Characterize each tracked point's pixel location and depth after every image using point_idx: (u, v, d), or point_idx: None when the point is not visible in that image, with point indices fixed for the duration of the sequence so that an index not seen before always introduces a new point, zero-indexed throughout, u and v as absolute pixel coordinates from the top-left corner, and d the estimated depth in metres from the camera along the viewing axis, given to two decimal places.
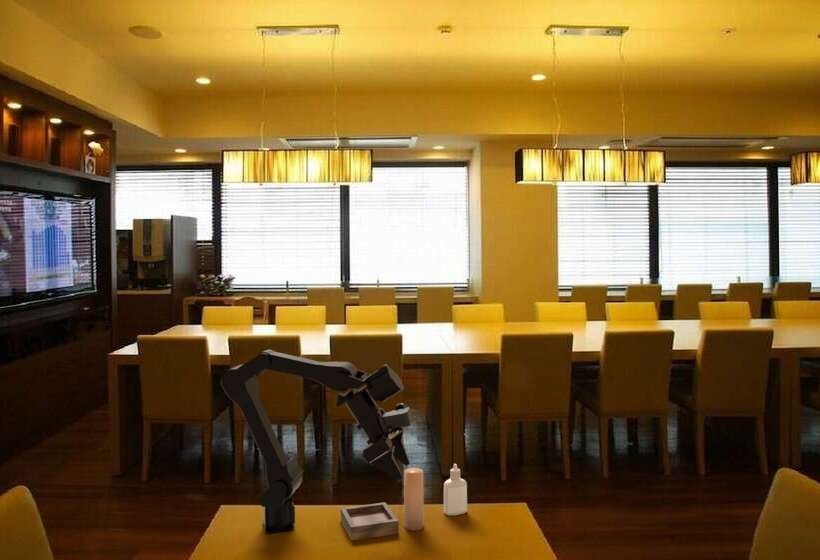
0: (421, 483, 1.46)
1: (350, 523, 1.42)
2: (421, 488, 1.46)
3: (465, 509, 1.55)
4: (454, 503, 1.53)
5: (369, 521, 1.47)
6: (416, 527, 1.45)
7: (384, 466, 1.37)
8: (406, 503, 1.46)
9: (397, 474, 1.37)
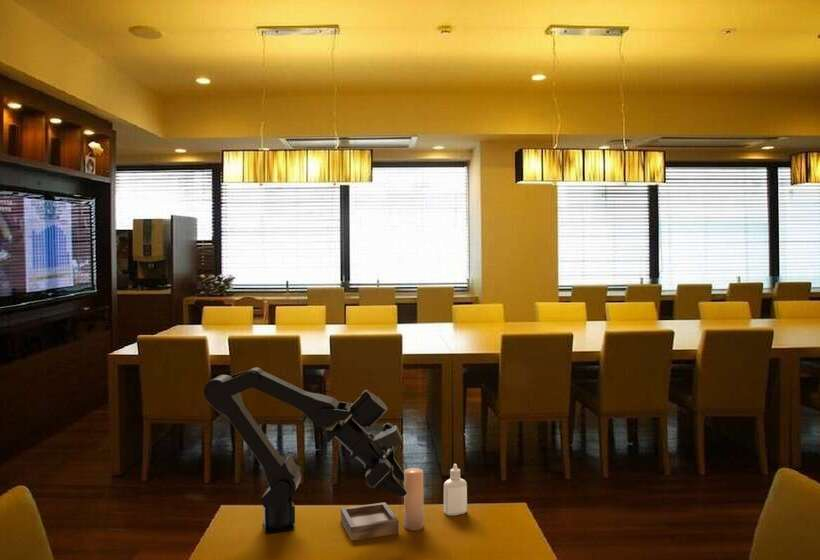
0: (421, 483, 1.46)
1: (350, 523, 1.42)
2: (421, 488, 1.46)
3: (465, 509, 1.55)
4: (454, 503, 1.53)
5: (369, 521, 1.47)
6: (416, 527, 1.45)
7: (387, 487, 1.41)
8: (406, 503, 1.46)
9: (401, 491, 1.42)
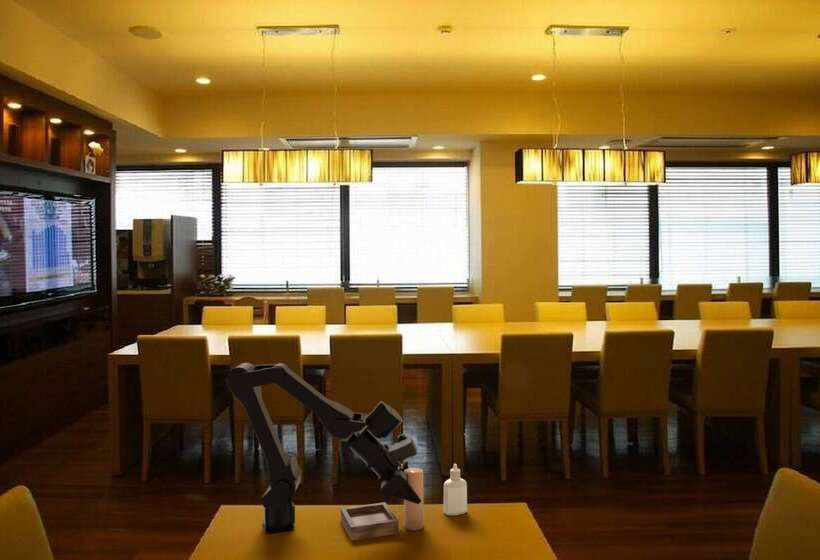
0: (421, 483, 1.46)
1: (350, 523, 1.42)
2: (421, 488, 1.46)
3: (465, 509, 1.55)
4: (454, 503, 1.53)
5: (369, 521, 1.47)
6: (416, 527, 1.45)
7: (402, 494, 1.43)
8: (406, 503, 1.46)
9: (416, 499, 1.45)
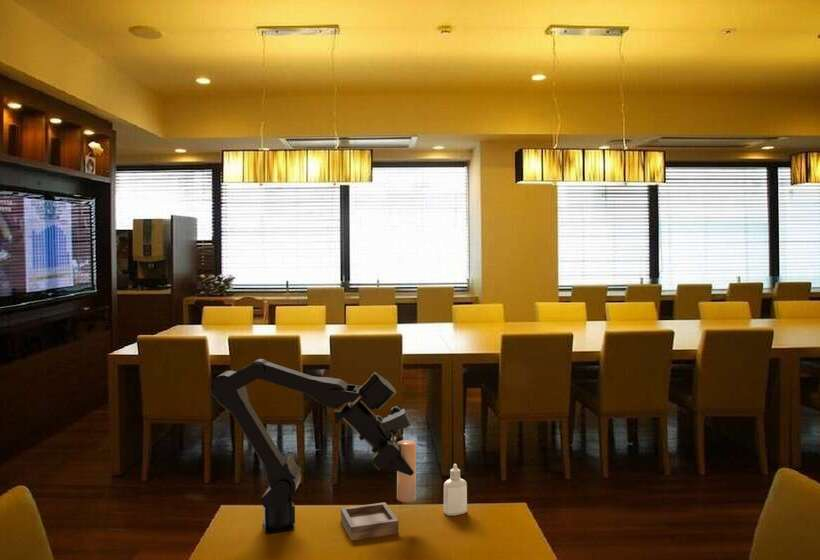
0: (414, 455, 1.46)
1: (350, 523, 1.42)
2: (413, 460, 1.45)
3: (465, 509, 1.55)
4: (454, 503, 1.53)
5: (369, 521, 1.47)
6: (408, 499, 1.45)
7: (395, 466, 1.43)
8: (399, 474, 1.46)
9: (409, 471, 1.44)
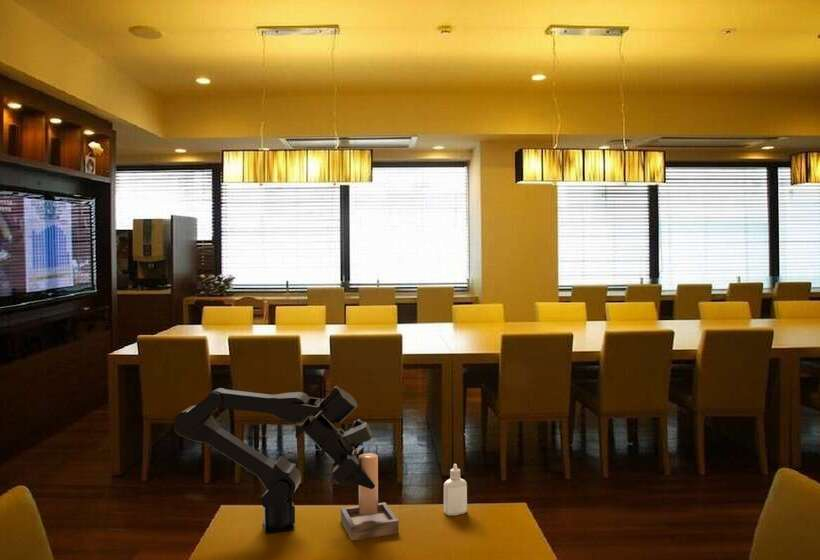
0: (375, 468, 1.45)
1: (350, 523, 1.42)
2: (375, 473, 1.45)
3: (465, 509, 1.55)
4: (454, 503, 1.53)
5: (369, 521, 1.47)
6: (370, 512, 1.45)
7: (356, 479, 1.43)
8: (360, 488, 1.45)
9: (370, 484, 1.44)
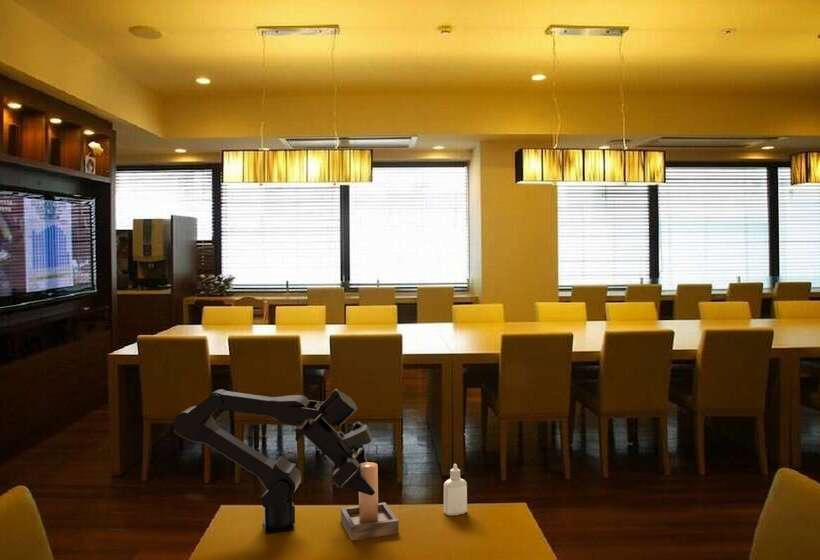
0: (375, 477, 1.45)
1: (350, 523, 1.42)
2: (375, 482, 1.45)
3: (465, 509, 1.55)
4: (454, 503, 1.53)
5: None
6: (370, 521, 1.45)
7: (355, 486, 1.41)
8: (360, 497, 1.46)
9: (369, 491, 1.42)
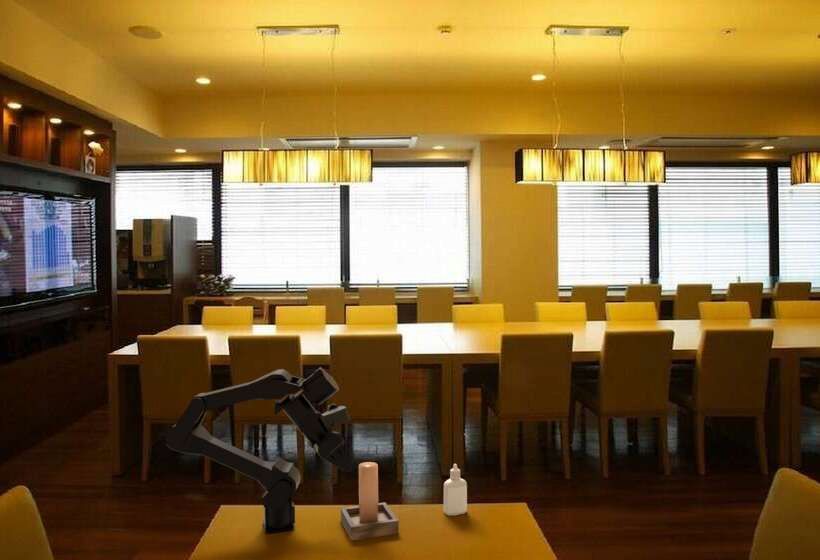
0: (375, 477, 1.46)
1: (350, 523, 1.42)
2: (375, 482, 1.46)
3: (465, 509, 1.55)
4: (454, 503, 1.53)
5: None
6: (370, 521, 1.45)
7: (335, 460, 1.42)
8: (361, 497, 1.46)
9: (347, 467, 1.44)
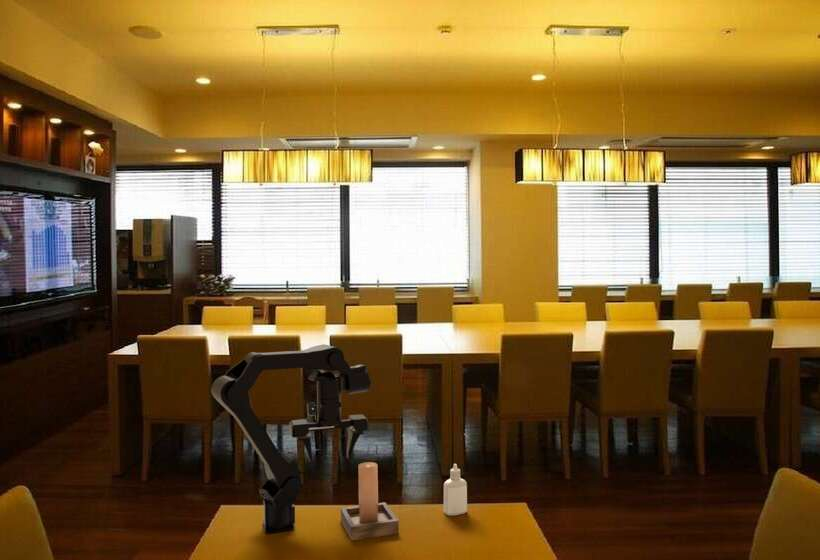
0: (375, 477, 1.46)
1: (350, 523, 1.42)
2: (375, 482, 1.45)
3: (465, 509, 1.55)
4: (454, 503, 1.53)
5: None
6: (370, 521, 1.45)
7: None
8: (360, 497, 1.46)
9: None
